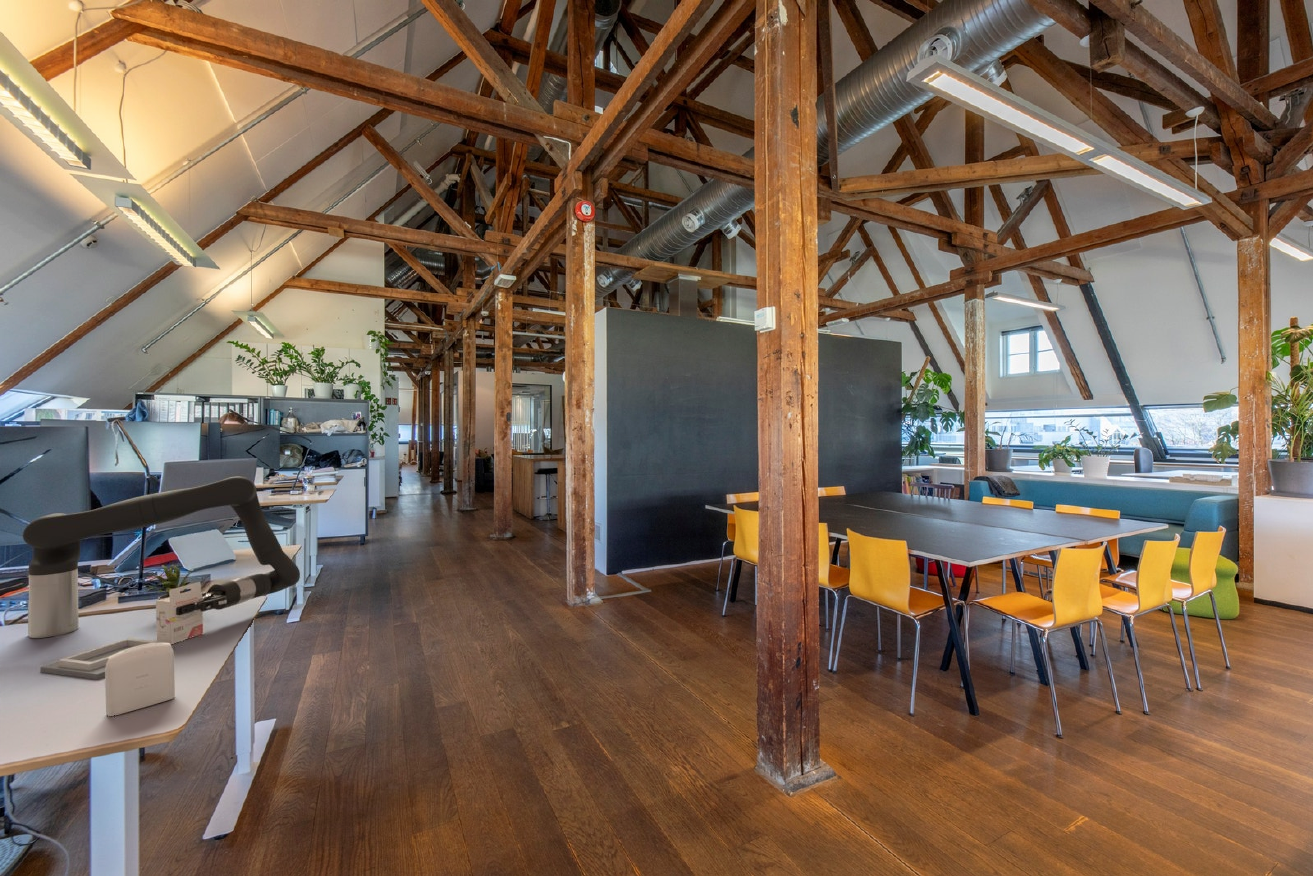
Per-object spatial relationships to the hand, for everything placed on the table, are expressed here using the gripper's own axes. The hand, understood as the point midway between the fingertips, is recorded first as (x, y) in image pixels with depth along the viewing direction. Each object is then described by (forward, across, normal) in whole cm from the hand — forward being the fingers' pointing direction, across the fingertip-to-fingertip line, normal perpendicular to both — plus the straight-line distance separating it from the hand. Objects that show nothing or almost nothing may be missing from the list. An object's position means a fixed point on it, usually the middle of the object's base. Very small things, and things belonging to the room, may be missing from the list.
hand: (169, 610), depth 144 cm
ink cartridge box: (-3, 0, +9) cm, 9 cm away
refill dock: (+12, -1, +9) cm, 15 cm away
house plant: (-17, -24, +9) cm, 30 cm away
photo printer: (+27, +32, +9) cm, 43 cm away
